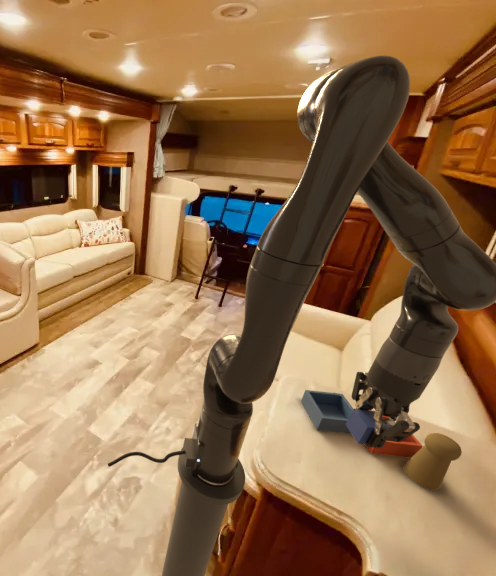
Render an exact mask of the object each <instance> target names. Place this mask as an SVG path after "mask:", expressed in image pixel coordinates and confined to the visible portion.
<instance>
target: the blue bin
mask: <svg viewBox="0 0 496 576" xmlns="http://www.w3.org/2000/svg"><path fill="white" fill-rule="evenodd" d="M300 402H301V404H302V406H303V408H304V409H305V412H306V413H307V415H308V417H309V418H310V420H311V422H312V424H313V425H314V427H315V429H316V430H317V431H323V432H332V433H339V434H340V433H341V434H349V435H352V434H351V432H350V431H349V429H348V428H347V426H346V425H345V424H346V423H347V421H348V419H349V417H350V415H351V413H352V411H353V409H354V407H353V406H352V405H351V404H350V402H349V401H348V399H347V397H345V395H344V394H343V393H338V392H330V391H329V392H327V391H318V390H312V389H311V390H309V389H305V390H304V393H303V394H302V398H301V400H300Z"/></svg>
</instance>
